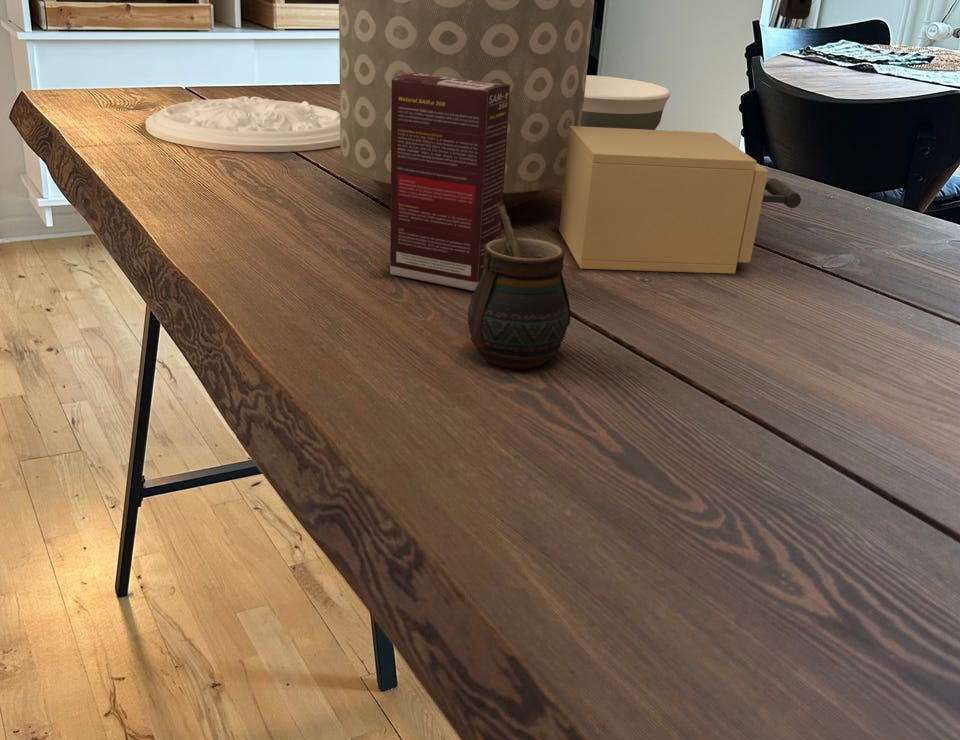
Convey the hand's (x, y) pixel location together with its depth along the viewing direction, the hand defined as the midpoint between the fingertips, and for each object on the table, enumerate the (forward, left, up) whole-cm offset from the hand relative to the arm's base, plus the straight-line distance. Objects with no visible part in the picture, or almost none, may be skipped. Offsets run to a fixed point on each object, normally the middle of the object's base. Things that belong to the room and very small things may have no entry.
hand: (793, 17), depth 90 cm
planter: (+27, -16, -21) cm, 38 cm away
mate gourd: (+26, +28, -21) cm, 44 cm away
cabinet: (+10, 0, -21) cm, 23 cm away
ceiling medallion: (+52, -51, -21) cm, 76 cm away
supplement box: (+30, +10, -21) cm, 38 cm away
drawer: (+6, 0, -20) cm, 21 cm away
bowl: (+6, -48, -21) cm, 53 cm away
